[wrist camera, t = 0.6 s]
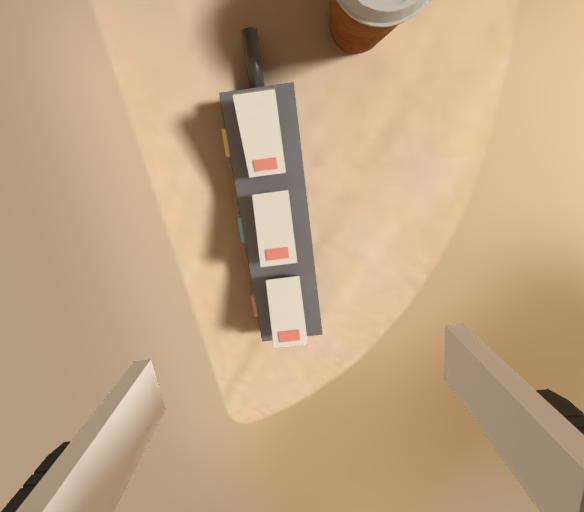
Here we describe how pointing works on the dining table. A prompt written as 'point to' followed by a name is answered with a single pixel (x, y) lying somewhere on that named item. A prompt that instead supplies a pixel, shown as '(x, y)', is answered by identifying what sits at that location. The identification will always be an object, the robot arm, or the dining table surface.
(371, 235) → the dining table surface
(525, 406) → the robot arm
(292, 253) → the cream switch plate
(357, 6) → the disposable coffee cup
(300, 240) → the power strip
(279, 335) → the cream rocker switch
